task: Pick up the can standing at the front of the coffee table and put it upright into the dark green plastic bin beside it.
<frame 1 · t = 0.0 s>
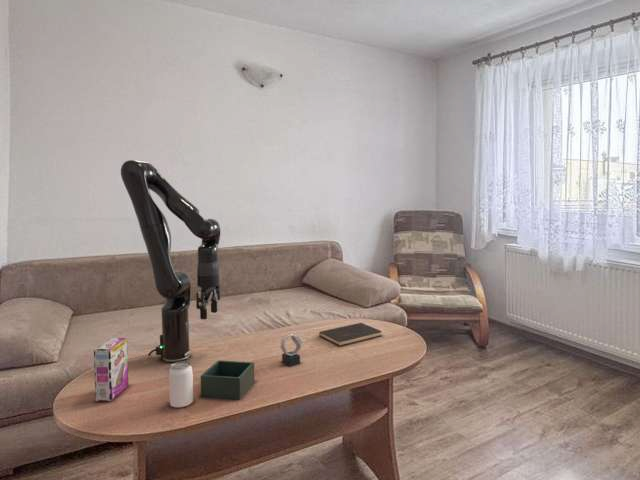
hand: (209, 315, 164), 17 cm above the table, tool pointing down, fingers open, 8 cm apart
hardcover book: (350, 336, 196), on the table
bin: (228, 388, 143), on the table
watch: (291, 363, 165), on the table
candy bar box: (113, 394, 137), on the table
can: (181, 403, 132), on the table
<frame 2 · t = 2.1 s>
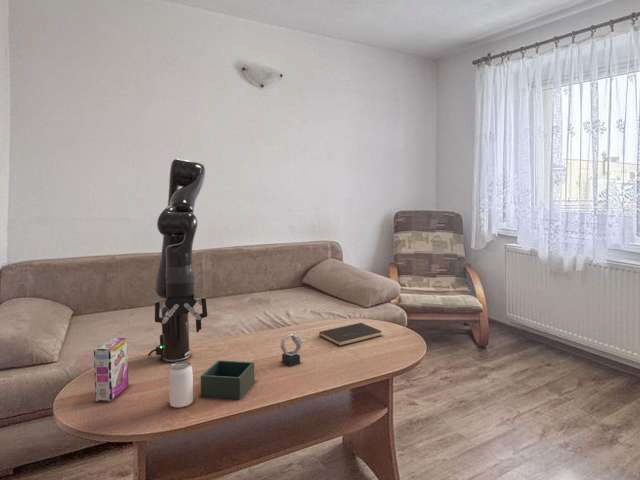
hand: (182, 333, 131), 22 cm above the table, tool pointing down, fingers open, 8 cm apart
nothing on the table moved.
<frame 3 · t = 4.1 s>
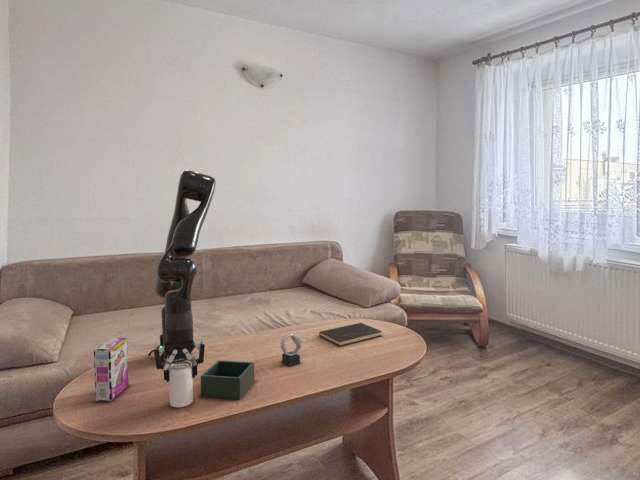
hand: (180, 378, 131), 8 cm above the table, tool pointing down, fingers closed on can, 6 cm apart
can: (181, 403, 132), on the table, touching gripper
everything else where it was.
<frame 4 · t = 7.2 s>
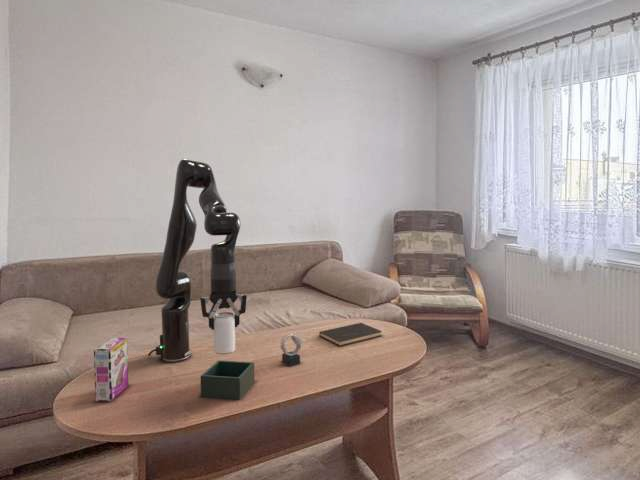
hand: (224, 327, 139), 21 cm above the table, tool pointing down, fingers closed on can, 6 cm apart
can: (224, 351, 140), point 13 cm above the table, touching gripper
everything else where it was.
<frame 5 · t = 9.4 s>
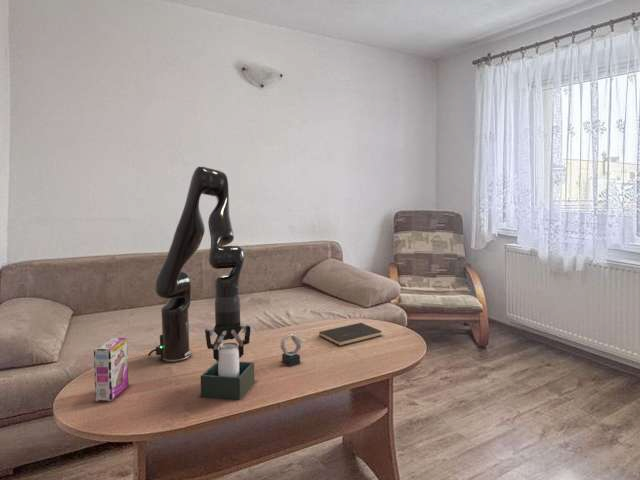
hand: (228, 358, 141), 10 cm above the table, tool pointing down, fingers closed on can, 6 cm apart
can: (229, 381, 142), point 2 cm above the table, touching gripper
everything else where it was.
when the fingers open (9 cm above the table, at t = 10.6 s): can stays where it is, resting on bin.
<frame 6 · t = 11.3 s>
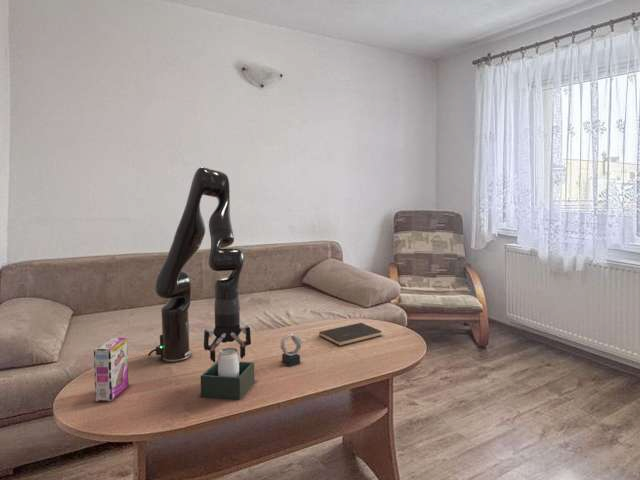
hand: (227, 359, 141), 10 cm above the table, tool pointing down, fingers open, 8 cm apart
can: (229, 386, 143), point 1 cm above the table, touching bin
everything else where it was.
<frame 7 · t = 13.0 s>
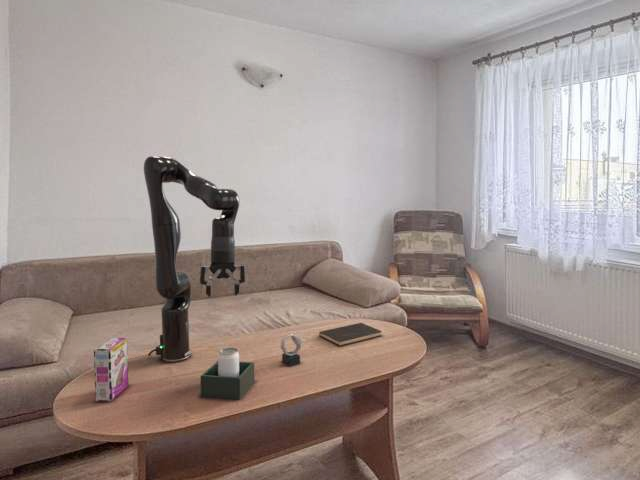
hand: (222, 295, 149), 28 cm above the table, tool pointing down, fingers open, 8 cm apart
nothing on the table moved.
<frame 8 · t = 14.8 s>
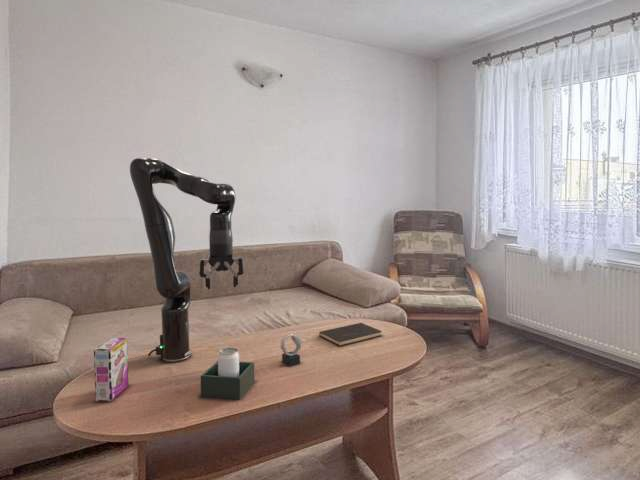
hand: (221, 287, 153), 30 cm above the table, tool pointing down, fingers open, 8 cm apart
nothing on the table moved.
at the end: can inside the target area in the bin (0.1 cm from its centre), point 0.6 cm above the bin's base; can tilted 0°; the gripper is holding nothing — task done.
